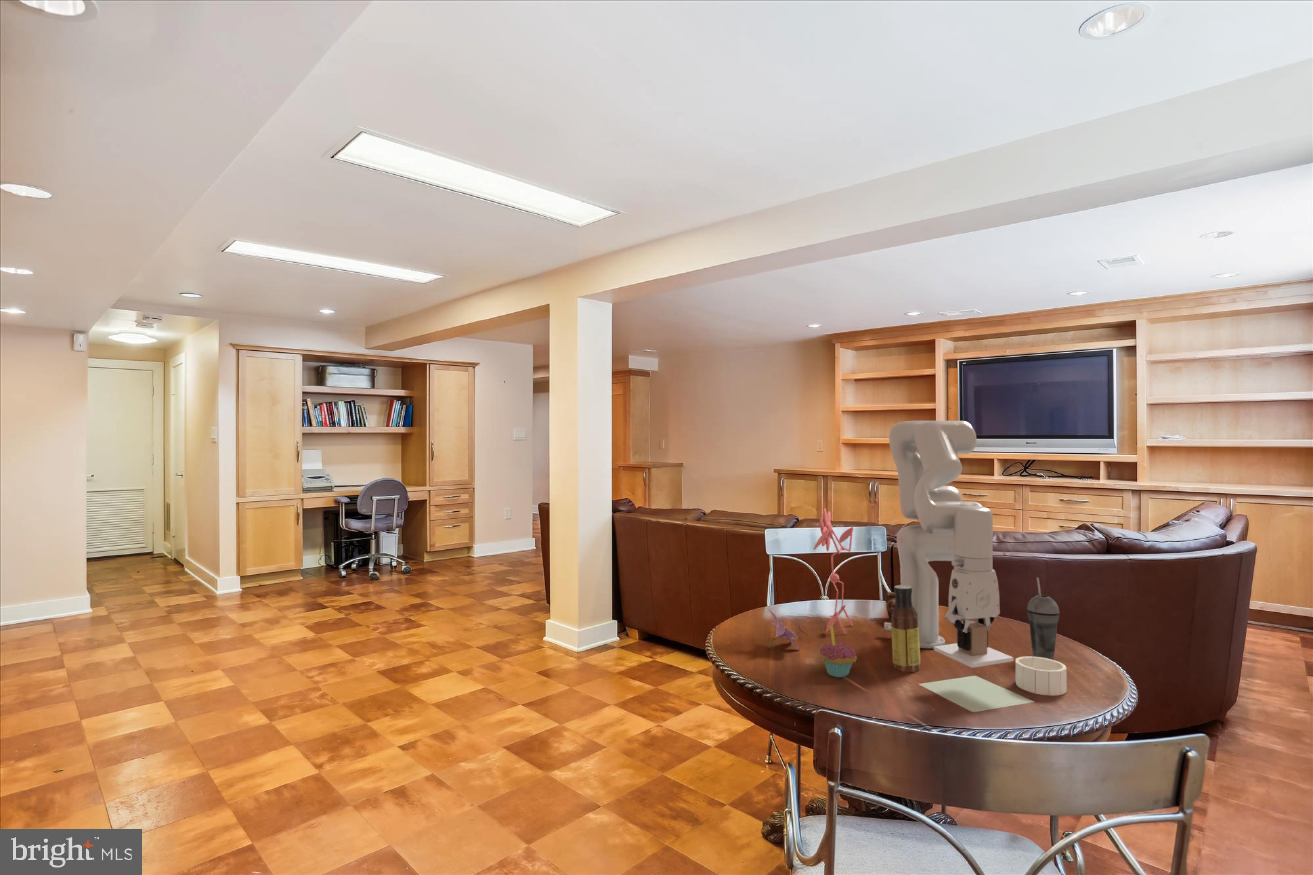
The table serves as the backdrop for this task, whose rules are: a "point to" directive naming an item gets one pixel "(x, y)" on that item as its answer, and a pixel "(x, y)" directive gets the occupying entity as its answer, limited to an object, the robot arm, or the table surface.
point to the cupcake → (837, 657)
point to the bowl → (1041, 675)
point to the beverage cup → (1043, 624)
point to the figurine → (825, 539)
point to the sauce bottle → (905, 631)
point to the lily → (783, 631)
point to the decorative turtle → (890, 602)
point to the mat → (975, 693)
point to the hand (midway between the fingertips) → (972, 646)
